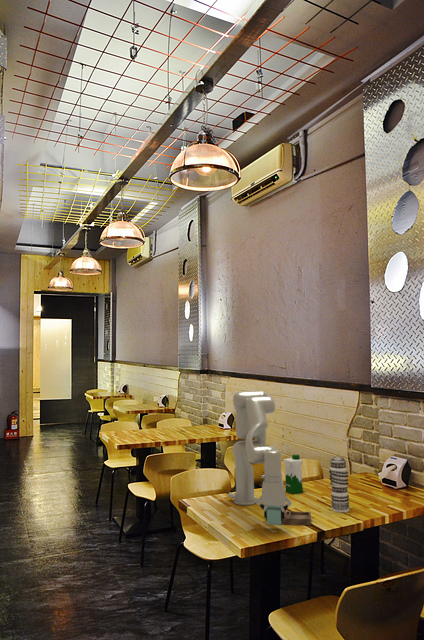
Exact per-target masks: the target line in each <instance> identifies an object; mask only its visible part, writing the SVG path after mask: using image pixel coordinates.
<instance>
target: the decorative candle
mask: <svg viewBox="0 0 424 640" xmlns="http://www.w3.org/2000/svg"><path fill="white" fill-rule="evenodd" d="M329 462H330V463H329V464H330V467H329V471H328V473H329V481H330V486H331V494H330V497H331V498H330V499H331V510H332V511H334V512H336V513H347V512H349V511H350V498H349V497H350V496H349V491H348V486H349V479H348V477H349V472H348V471H347V470H348V468H347V460H346V459H345V458H344V456H333V457H331V459H330V460H329Z"/></svg>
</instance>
